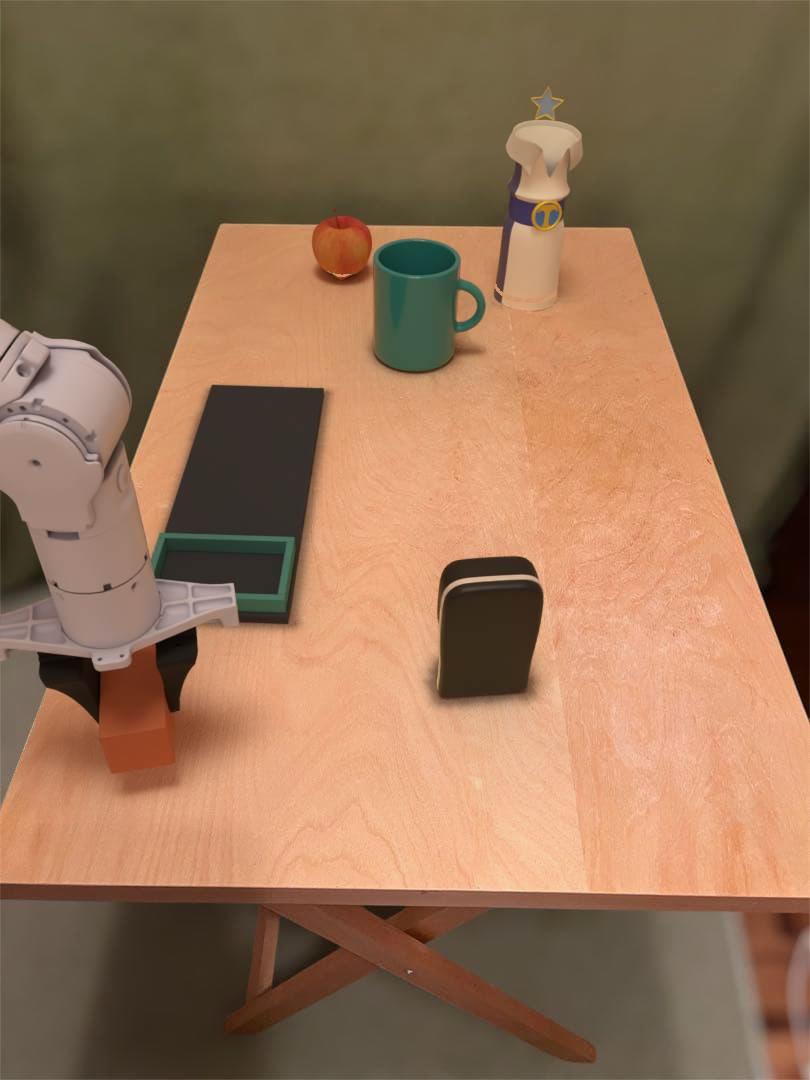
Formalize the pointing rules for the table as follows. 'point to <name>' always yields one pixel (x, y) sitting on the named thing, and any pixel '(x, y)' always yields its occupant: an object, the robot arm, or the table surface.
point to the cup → (418, 303)
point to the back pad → (245, 497)
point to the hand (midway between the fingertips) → (138, 705)
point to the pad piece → (135, 716)
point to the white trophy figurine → (536, 206)
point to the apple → (342, 245)
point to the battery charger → (487, 625)
